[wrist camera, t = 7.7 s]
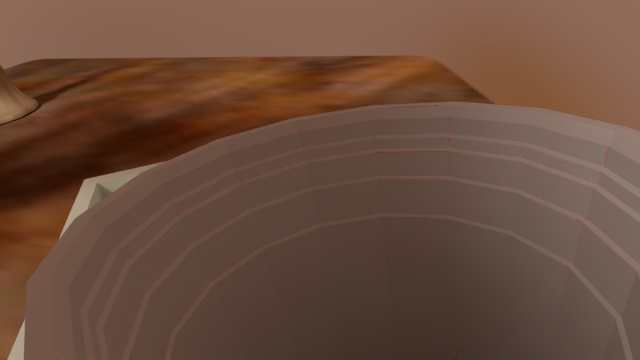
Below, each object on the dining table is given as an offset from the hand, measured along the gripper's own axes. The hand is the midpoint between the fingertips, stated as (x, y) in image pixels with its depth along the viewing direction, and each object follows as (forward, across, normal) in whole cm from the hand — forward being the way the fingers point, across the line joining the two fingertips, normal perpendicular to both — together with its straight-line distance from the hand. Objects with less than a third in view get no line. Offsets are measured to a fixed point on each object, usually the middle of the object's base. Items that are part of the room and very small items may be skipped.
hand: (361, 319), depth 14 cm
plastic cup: (-3, 0, -7) cm, 7 cm away
